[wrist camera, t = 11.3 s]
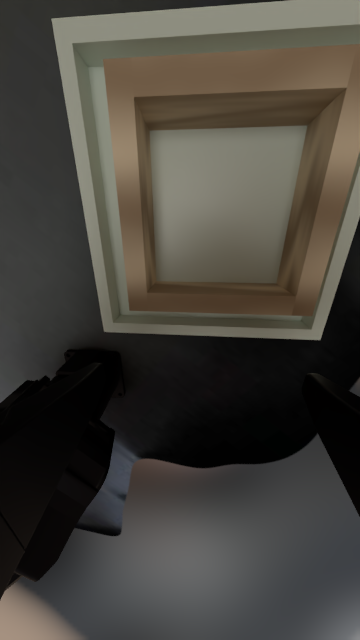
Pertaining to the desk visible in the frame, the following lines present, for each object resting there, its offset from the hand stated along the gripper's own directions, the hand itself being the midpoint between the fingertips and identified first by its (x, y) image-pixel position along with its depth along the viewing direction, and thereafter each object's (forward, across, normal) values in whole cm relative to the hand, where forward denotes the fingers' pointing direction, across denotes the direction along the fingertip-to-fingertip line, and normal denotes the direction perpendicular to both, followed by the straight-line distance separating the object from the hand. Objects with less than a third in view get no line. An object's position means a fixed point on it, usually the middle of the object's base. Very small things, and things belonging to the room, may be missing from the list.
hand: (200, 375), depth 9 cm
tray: (+12, -1, -7) cm, 14 cm away
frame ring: (+11, -2, -7) cm, 14 cm away
